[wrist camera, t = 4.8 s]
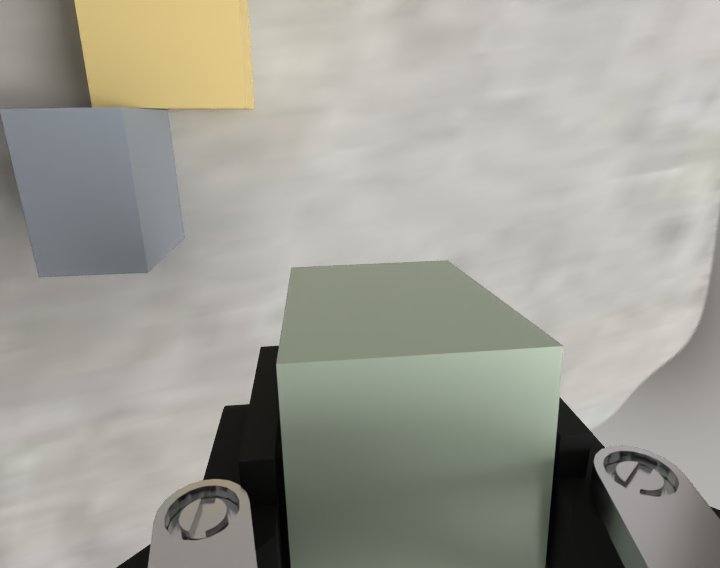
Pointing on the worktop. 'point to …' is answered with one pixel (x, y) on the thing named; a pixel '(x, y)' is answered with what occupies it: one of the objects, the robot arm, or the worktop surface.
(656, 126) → the worktop surface
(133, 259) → the slate block
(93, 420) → the worktop surface
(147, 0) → the ochre block
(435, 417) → the sage block
